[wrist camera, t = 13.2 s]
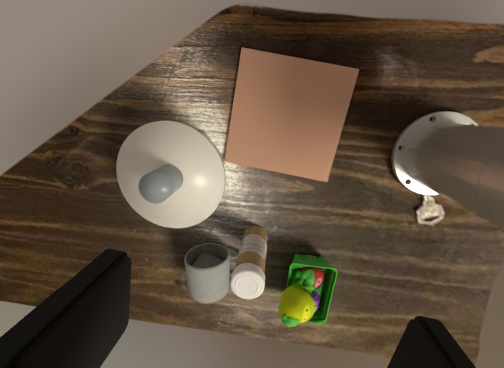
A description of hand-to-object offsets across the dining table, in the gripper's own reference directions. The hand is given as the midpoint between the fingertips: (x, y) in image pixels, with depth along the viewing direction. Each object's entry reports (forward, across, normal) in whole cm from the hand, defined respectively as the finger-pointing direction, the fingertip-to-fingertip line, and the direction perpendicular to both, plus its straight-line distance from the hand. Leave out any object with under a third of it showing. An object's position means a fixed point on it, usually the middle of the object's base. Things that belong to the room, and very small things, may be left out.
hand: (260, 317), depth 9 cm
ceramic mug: (+35, +6, +23) cm, 42 cm away
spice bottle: (+34, 0, +16) cm, 38 cm away
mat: (+34, -1, -5) cm, 35 cm away
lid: (+28, +14, +6) cm, 32 cm away
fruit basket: (+35, -10, +22) cm, 42 cm away
